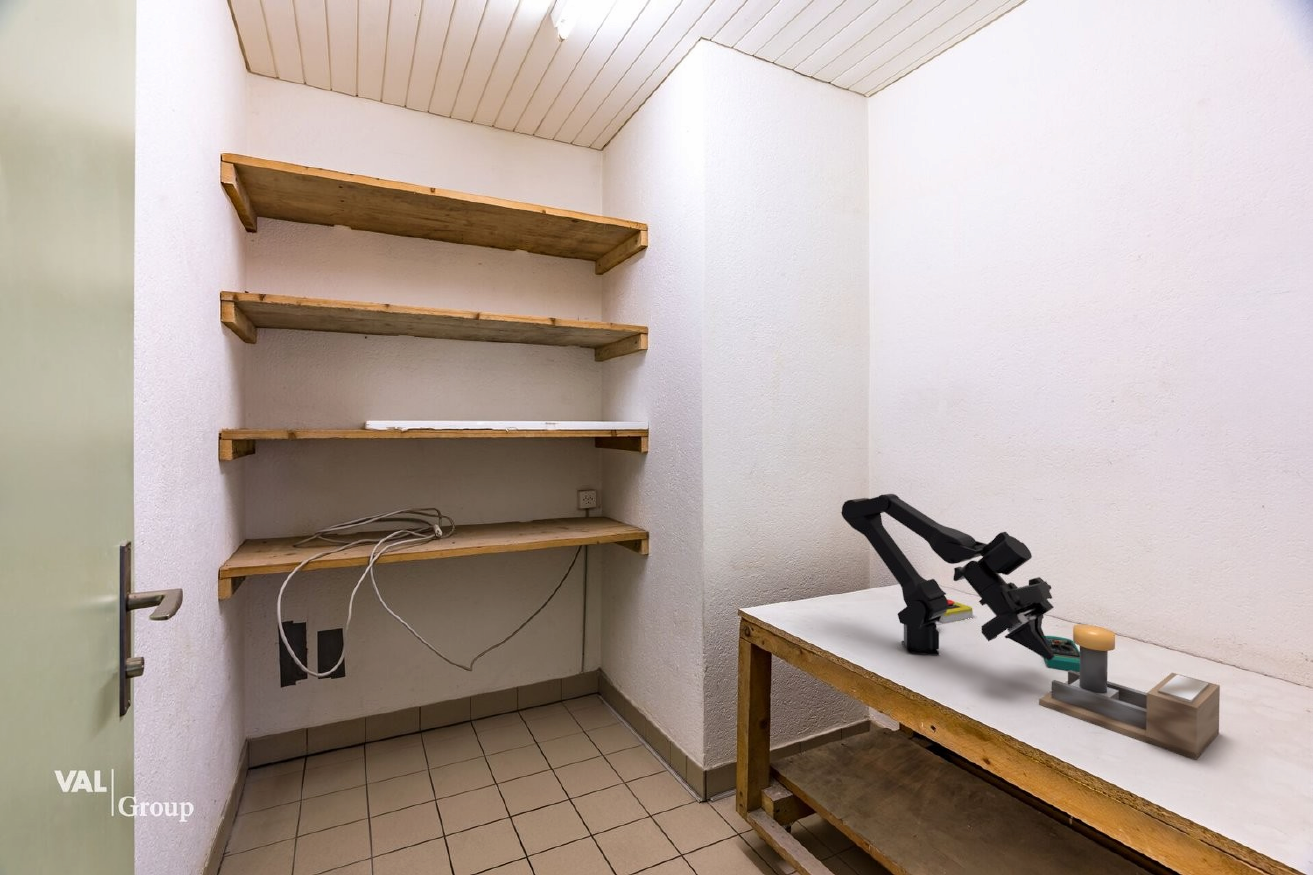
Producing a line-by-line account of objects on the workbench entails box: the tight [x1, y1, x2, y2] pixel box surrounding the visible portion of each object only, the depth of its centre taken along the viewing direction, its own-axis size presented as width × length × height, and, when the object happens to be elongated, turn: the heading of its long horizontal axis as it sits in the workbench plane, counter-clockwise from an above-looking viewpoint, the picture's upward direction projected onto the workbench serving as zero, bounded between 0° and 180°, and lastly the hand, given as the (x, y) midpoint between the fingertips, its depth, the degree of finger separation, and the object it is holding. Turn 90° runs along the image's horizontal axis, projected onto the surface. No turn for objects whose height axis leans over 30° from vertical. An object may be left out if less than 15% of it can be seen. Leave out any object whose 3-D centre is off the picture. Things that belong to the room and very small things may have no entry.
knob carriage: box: [1070, 624, 1119, 700], centre depth 104 cm, size 6×6×13 cm
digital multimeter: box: [1043, 635, 1080, 672], centre depth 126 cm, size 7×15×3 cm, turn 155°
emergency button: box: [936, 598, 977, 626], centre depth 154 cm, size 9×4×15 cm
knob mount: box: [1038, 670, 1221, 761], centre depth 100 cm, size 21×13×8 cm, turn 35°
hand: (1051, 658), depth 109 cm, fingers closed
